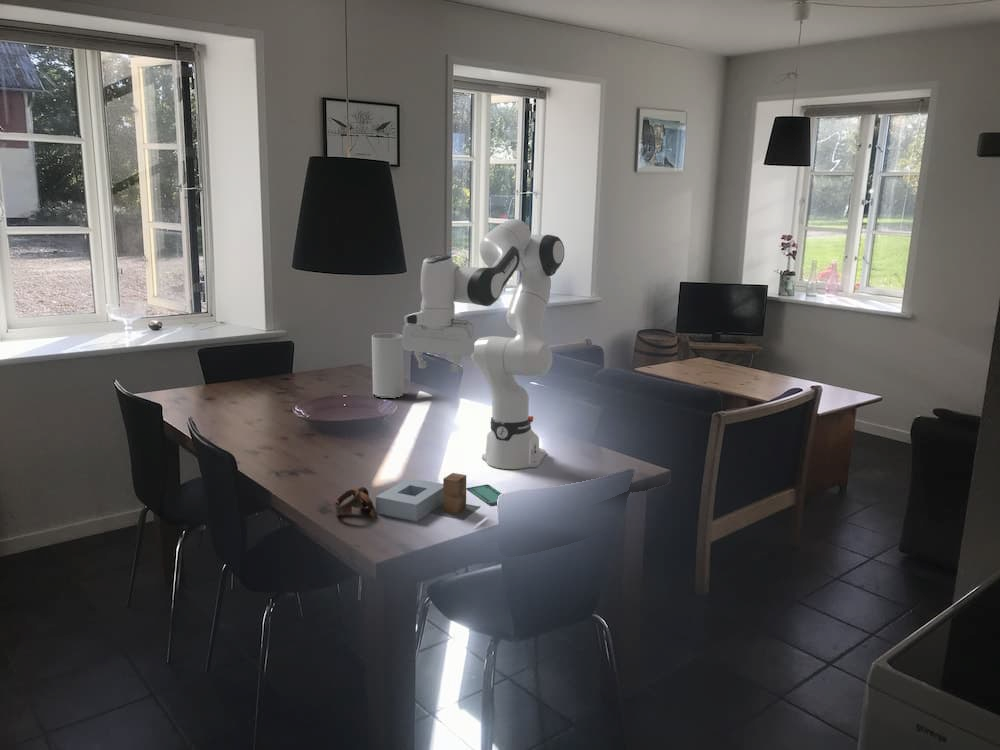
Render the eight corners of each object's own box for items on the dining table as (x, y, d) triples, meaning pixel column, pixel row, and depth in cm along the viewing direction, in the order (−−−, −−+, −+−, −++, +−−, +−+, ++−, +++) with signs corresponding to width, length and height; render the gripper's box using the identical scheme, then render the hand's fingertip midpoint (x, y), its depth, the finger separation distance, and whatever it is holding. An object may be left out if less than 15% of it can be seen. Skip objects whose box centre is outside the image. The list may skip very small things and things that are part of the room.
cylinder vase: (370, 399, 322) (368, 338, 317) (376, 391, 334) (374, 333, 329) (401, 399, 322) (400, 338, 317) (405, 392, 334) (404, 333, 329)
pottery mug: (374, 526, 198) (357, 501, 195) (343, 538, 201) (325, 514, 198) (384, 497, 209) (368, 473, 206) (354, 509, 212) (338, 486, 209)
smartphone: (490, 505, 209) (465, 487, 222) (490, 510, 209) (465, 491, 222) (515, 501, 213) (488, 483, 225) (515, 505, 213) (488, 487, 226)
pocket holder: (409, 495, 218) (408, 477, 217) (447, 502, 213) (447, 484, 212) (376, 515, 204) (375, 496, 203) (416, 523, 199) (416, 504, 198)
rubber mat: (447, 502, 213) (447, 500, 213) (480, 508, 209) (480, 506, 209) (428, 515, 204) (428, 513, 204) (463, 522, 200) (463, 520, 200)
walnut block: (452, 505, 210) (452, 472, 208) (466, 507, 208) (466, 475, 206) (443, 511, 205) (443, 478, 203) (457, 514, 204) (457, 481, 202)
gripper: (478, 319, 207) (478, 371, 210) (411, 313, 215) (411, 363, 218) (467, 322, 201) (467, 375, 204) (398, 316, 210) (399, 368, 213)
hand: (438, 369), depth 211 cm, fingers open, 8 cm apart
